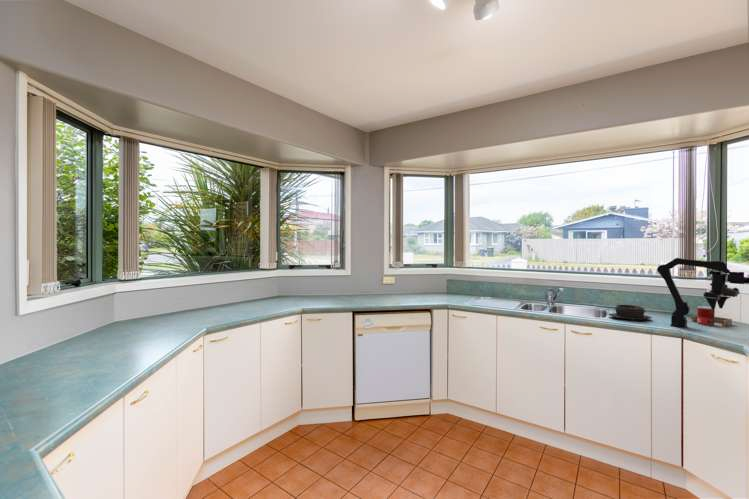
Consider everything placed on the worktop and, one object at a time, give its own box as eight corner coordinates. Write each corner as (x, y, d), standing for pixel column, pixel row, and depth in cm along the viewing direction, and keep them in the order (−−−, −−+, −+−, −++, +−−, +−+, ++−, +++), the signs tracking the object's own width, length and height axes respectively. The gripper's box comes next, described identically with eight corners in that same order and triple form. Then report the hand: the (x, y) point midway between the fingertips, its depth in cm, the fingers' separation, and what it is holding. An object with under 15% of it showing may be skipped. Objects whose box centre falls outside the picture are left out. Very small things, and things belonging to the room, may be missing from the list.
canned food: (711, 326, 215) (711, 308, 214) (694, 323, 222) (695, 306, 222) (716, 325, 218) (717, 307, 218) (700, 322, 225) (700, 305, 225)
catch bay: (723, 326, 214) (723, 321, 214) (691, 321, 228) (691, 316, 228) (731, 324, 219) (731, 319, 219) (700, 319, 233) (700, 314, 233)
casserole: (640, 316, 243) (640, 304, 243) (659, 322, 225) (659, 309, 225) (602, 315, 246) (602, 303, 246) (617, 321, 228) (617, 308, 228)
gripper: (729, 284, 191) (728, 313, 191) (744, 283, 198) (743, 310, 199) (703, 282, 201) (702, 309, 201) (719, 281, 209) (717, 306, 209)
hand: (717, 308), depth 202 cm, fingers open, 9 cm apart
